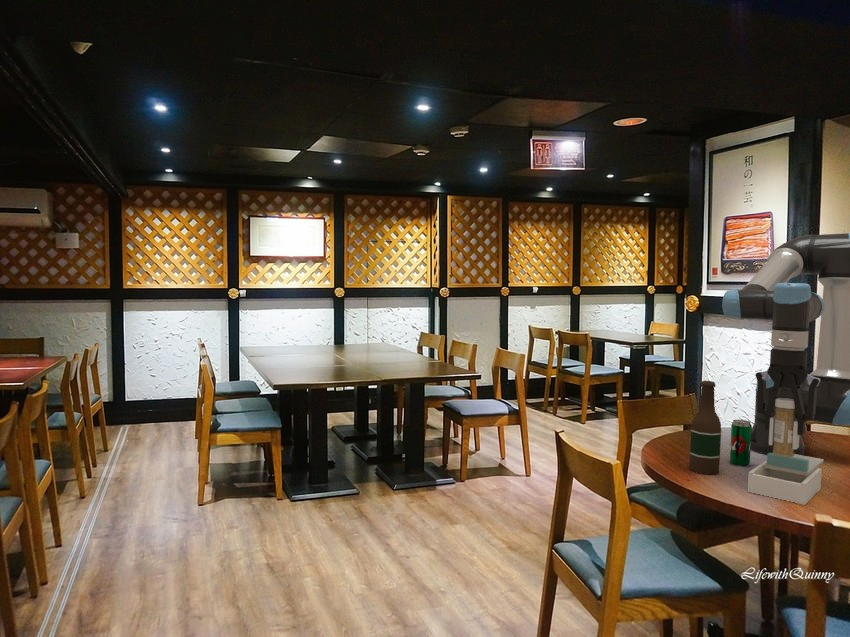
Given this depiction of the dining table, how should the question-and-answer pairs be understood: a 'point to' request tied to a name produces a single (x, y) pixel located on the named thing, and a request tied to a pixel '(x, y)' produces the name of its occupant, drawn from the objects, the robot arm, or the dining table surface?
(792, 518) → the dining table surface
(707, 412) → the beer bottle
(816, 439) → the dining table surface
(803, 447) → the robot arm
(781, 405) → the sprinkles bottle
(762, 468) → the mailer box
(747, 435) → the soda can
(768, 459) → the lid
